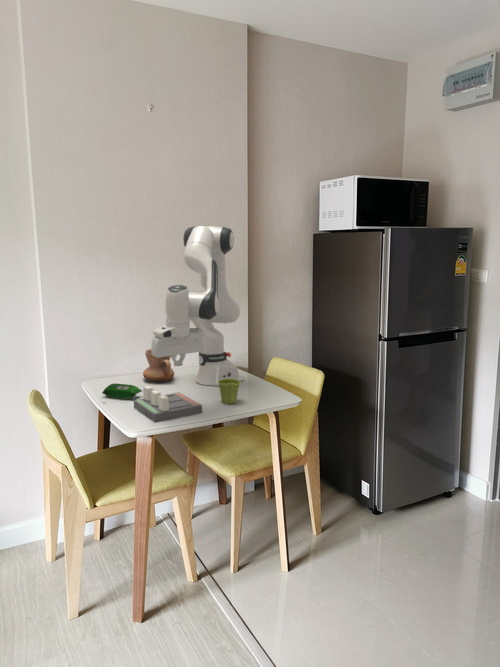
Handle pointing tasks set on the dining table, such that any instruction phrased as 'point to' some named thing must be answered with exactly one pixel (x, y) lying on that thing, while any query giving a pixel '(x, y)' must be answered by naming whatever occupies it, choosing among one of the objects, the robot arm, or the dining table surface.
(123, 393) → the snack package
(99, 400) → the dining table surface
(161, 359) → the ceramic jug
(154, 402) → the block
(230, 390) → the plant pot
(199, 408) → the panel
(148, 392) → the inner breaker
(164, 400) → the block
